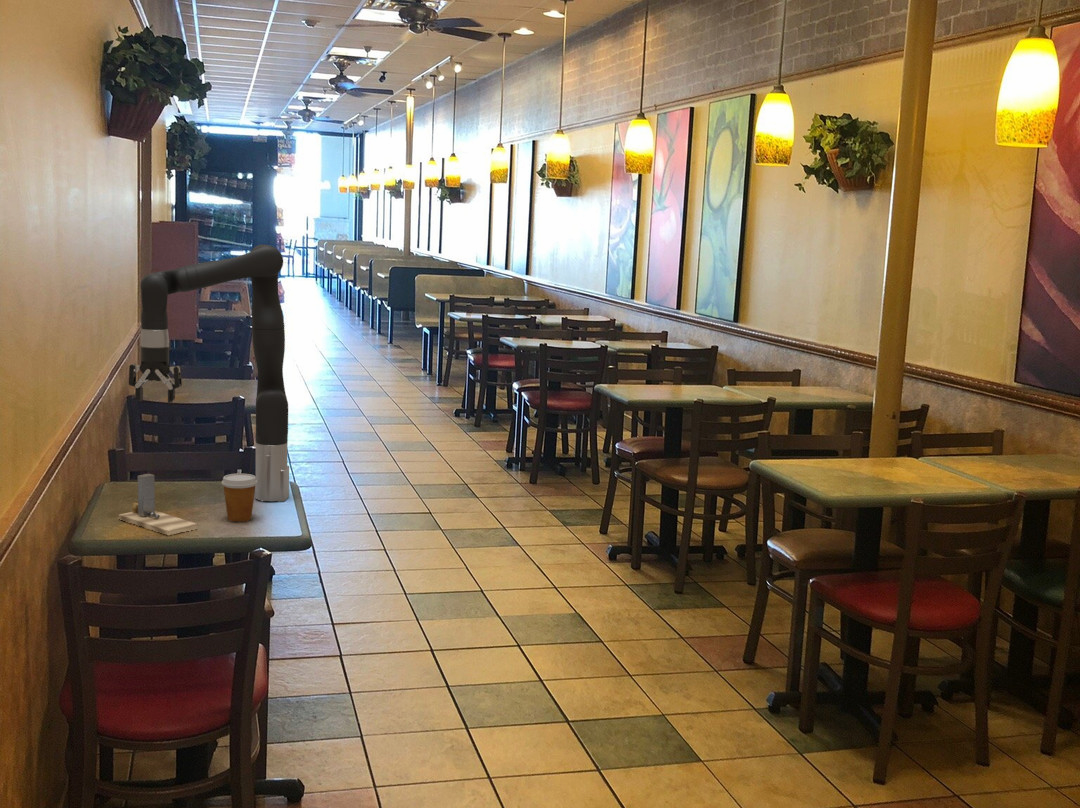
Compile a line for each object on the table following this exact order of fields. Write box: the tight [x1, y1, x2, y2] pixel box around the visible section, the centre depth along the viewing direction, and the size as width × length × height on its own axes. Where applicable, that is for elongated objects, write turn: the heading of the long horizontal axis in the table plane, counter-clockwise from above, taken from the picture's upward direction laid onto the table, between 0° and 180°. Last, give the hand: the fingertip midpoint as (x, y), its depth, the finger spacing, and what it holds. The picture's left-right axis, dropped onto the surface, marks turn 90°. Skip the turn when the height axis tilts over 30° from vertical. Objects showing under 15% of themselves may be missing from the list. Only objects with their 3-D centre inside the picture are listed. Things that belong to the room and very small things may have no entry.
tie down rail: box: [118, 502, 199, 535], centre depth 287 cm, size 22×9×4 cm, turn 55°
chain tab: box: [137, 473, 160, 518], centre depth 288 cm, size 9×4×11 cm, turn 55°
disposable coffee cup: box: [221, 473, 257, 523], centre depth 295 cm, size 10×10×12 cm
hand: (155, 401), depth 302 cm, fingers open, 8 cm apart
